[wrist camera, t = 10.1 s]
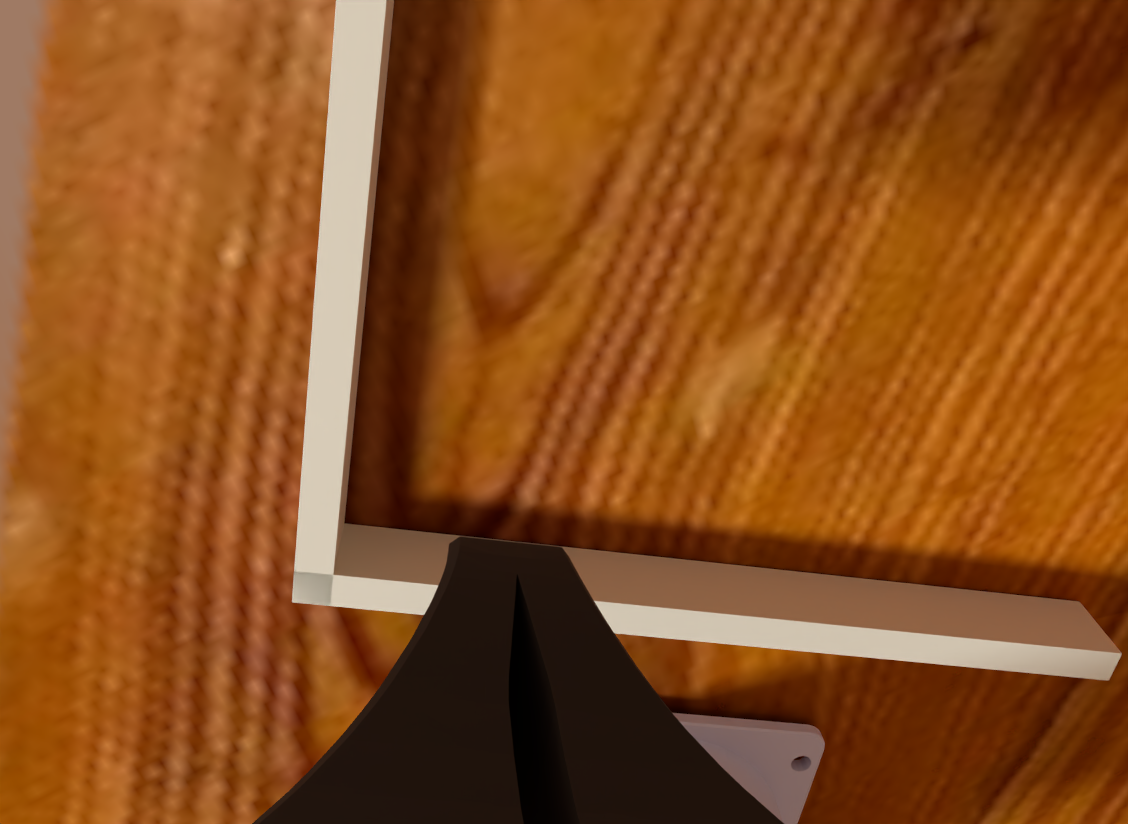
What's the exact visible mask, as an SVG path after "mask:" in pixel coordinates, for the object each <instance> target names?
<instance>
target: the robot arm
mask: <svg viewBox="0 0 1128 824" xmlns="http://www.w3.org/2000/svg"><path fill="white" fill-rule="evenodd" d="M824 748H825V742H824V740H823V737H822V735H821V732H820V730H819V729H817V728H816V727H815V726H812V725H808V724H796V723H785V722H773V721H761V720H750V719H738V718H727V717H715V716H704V715H692V714H681V713H672V712H671V711H670V709H669V708H668V707H667V706H666V704H665V703H664V702H663V700H662V699H661V698H660V697H659V695H658V694H657V693H656V692H655V690H654V689H653V688H652V686H651V685H650V684H649V682H648V681H647V680H646V678H645V677H644V676H643V674H642V673H641V671H640V670H639V669H638V667H637V666H636V665H635V663H634V662H633V660H632V659H631V657H630V656H629V654H628V653H627V651H626V650H625V648H624V647H623V645H622V644H621V642H620V641H619V640H618V638H617V637H616V635H615V634H614V632H613V631H612V629H611V628H610V626H609V624H608V623H607V621H606V620H605V618H604V617H603V615H602V613H601V612H600V610H599V608H598V607H597V605H596V603H595V602H594V600H593V598H592V597H591V595H590V593H589V592H588V590H587V588H586V586H585V585H584V583H583V581H582V579H581V578H580V576H579V574H578V572H577V570H576V569H575V567H574V565H573V563H572V561H571V559H570V557H569V556H568V555H567V553H566V552H565V551H564V549H563V548H562V547H557V546H547V545H538V544H528V543H519V542H509V541H500V540H490V539H481V538H471V537H462V536H460V537H458V538H457V539H455V540H454V541H452V542H451V543H449V548H448V555H447V562H446V566H445V569H444V572H443V575H442V578H441V580H440V583H439V585H438V587H437V590H436V592H435V594H434V597H433V599H432V601H431V603H430V605H429V607H428V609H427V611H426V612H425V614H424V616H423V618H422V620H421V622H420V624H419V626H418V628H417V629H416V631H415V633H414V635H413V637H412V638H411V640H410V642H409V644H408V645H407V647H406V648H405V650H404V651H403V653H402V654H401V656H400V657H399V659H398V660H397V662H396V664H395V665H394V667H393V668H392V670H391V671H390V673H389V674H388V676H387V677H386V679H385V680H384V682H383V683H382V685H381V686H380V688H379V689H378V690H377V692H376V693H375V694H374V696H373V697H372V698H371V700H370V701H369V702H368V704H367V705H366V706H365V708H364V709H363V710H362V712H361V713H360V714H359V715H358V716H357V718H356V719H355V720H354V721H353V723H352V724H351V725H350V726H349V727H348V729H347V730H346V731H345V732H344V733H343V735H342V736H341V737H340V738H339V739H338V740H337V741H336V742H335V744H334V745H333V746H332V747H331V748H330V749H329V750H328V751H327V752H326V753H325V755H324V756H323V757H322V758H321V759H320V760H319V761H318V762H317V763H316V764H315V765H314V767H313V768H312V769H311V770H310V771H309V772H308V773H307V774H306V775H305V776H304V777H303V778H302V779H301V780H300V781H299V782H298V783H297V784H296V785H295V786H294V787H293V788H292V789H291V790H290V791H289V792H287V793H286V794H285V795H284V796H283V797H282V798H281V799H280V800H278V801H277V802H276V803H275V804H274V805H273V806H272V807H271V808H269V809H268V810H267V811H266V812H265V813H264V814H263V815H262V816H260V817H259V818H258V819H257V820H256V821H255V822H254V823H252V824H798V821H799V818H800V815H801V813H802V810H803V807H804V804H805V802H806V799H807V796H808V793H809V791H810V788H811V785H812V782H813V779H814V777H815V774H816V771H817V768H818V766H819V763H820V760H821V757H822V755H823V752H824ZM799 756H805V757H804V758H802V759H800V760H794V759H795V758H797V757H799Z"/></svg>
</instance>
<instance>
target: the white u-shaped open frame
mask: <svg viewBox="0 0 1128 824" xmlns="http://www.w3.org/2000/svg"><path fill="white" fill-rule="evenodd" d="M393 8H394V0H336V10H335V24H334V37H333V51H332V65H331V78H330V92H329V106H328V119H327V133H326V146H325V160H324V174H323V187H322V201H321V214H320V228H319V242H318V255H317V269H316V283H315V296H314V310H313V323H312V337H311V351H310V364H309V378H308V391H307V405H306V419H305V432H304V446H303V460H302V473H301V487H300V500H299V514H298V528H297V541H296V555H295V568H294V582H293V596H292V602H295V603H305V604H316V605H326V606H337V607H347V608H357V609H368V610H378V611H389V612H399V613H410V614H420V615H424V614H425V612H426V611H427V609H428V607H429V605H430V603H431V601H432V599H433V597H434V594H435V592H436V590H437V587H438V585H439V583H440V580H441V578H442V575H443V572H444V569H445V566H446V562H447V555H448V548H449V543H451V542H452V541H454V540H455V539H457V538H458V537H460V536H459V535H449V534H440V533H431V532H421V531H412V530H402V529H393V528H384V527H374V526H365V525H355V524H346V523H344V522H345V511H346V501H347V490H348V480H349V469H350V459H351V448H352V438H353V428H354V417H355V407H356V396H357V386H358V375H359V365H360V354H361V344H362V333H363V323H364V312H365V302H366V291H367V281H368V270H369V260H370V249H371V239H372V228H373V218H374V207H375V197H376V187H377V176H378V166H379V155H380V145H381V134H382V124H383V113H384V103H385V92H386V82H387V71H388V61H389V50H390V40H391V29H392V19H393ZM462 537H468V536H462ZM471 538H478V537H471ZM481 539H487V538H481ZM490 540H496V539H490ZM500 541H506V540H500ZM509 542H515V541H509ZM519 543H525V542H519ZM528 544H534V543H528ZM538 545H543V544H538ZM547 546H553V545H547ZM557 547H562V546H557ZM562 548H563V549H564V551H565V552H566V553H567V555H568V556H569V557H570V559H571V561H572V563H573V565H574V567H575V569H576V570H577V572H578V574H579V576H580V578H581V579H582V581H583V583H584V585H585V586H586V588H587V590H588V592H589V593H590V595H591V597H592V598H593V600H594V602H595V603H596V605H597V607H598V608H599V610H600V612H601V613H602V615H603V617H604V618H605V620H606V621H607V623H608V624H609V626H610V628H611V629H612V631H613V632H614V633H618V634H628V635H639V636H649V637H659V638H670V639H680V640H691V641H701V642H711V643H722V644H732V645H743V646H753V647H764V648H774V649H784V650H795V651H805V652H816V653H826V654H836V655H847V656H857V657H868V658H878V659H888V660H899V661H909V662H920V663H930V664H941V665H951V666H961V667H972V668H982V669H993V670H1003V671H1013V672H1024V673H1034V674H1045V675H1055V676H1065V677H1076V678H1086V679H1097V680H1107V681H1109V679H1110V677H1111V675H1112V673H1113V671H1114V669H1115V667H1116V665H1117V663H1118V661H1119V659H1120V657H1121V655H1122V653H1121V652H1120V650H1119V649H1118V648H1117V647H1116V646H1115V644H1114V643H1113V642H1112V641H1111V639H1110V638H1109V637H1108V636H1107V635H1106V633H1105V632H1104V631H1103V630H1102V628H1101V627H1100V626H1099V625H1098V624H1097V622H1096V621H1095V620H1094V619H1093V617H1092V616H1091V615H1090V614H1089V613H1088V611H1087V610H1086V609H1085V608H1084V606H1083V605H1082V604H1081V603H1080V602H1079V601H1070V600H1061V599H1051V598H1042V597H1032V596H1023V595H1014V594H1004V593H995V592H985V591H976V590H967V589H957V588H948V587H938V586H929V585H920V584H910V583H901V582H891V581H882V580H873V579H863V578H854V577H844V576H835V575H826V574H816V573H807V572H797V571H788V570H778V569H769V568H760V567H750V566H741V565H731V564H722V563H713V562H703V561H694V560H684V559H675V558H666V557H656V556H647V555H637V554H628V553H619V552H609V551H600V550H590V549H581V548H572V547H562Z"/></svg>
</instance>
